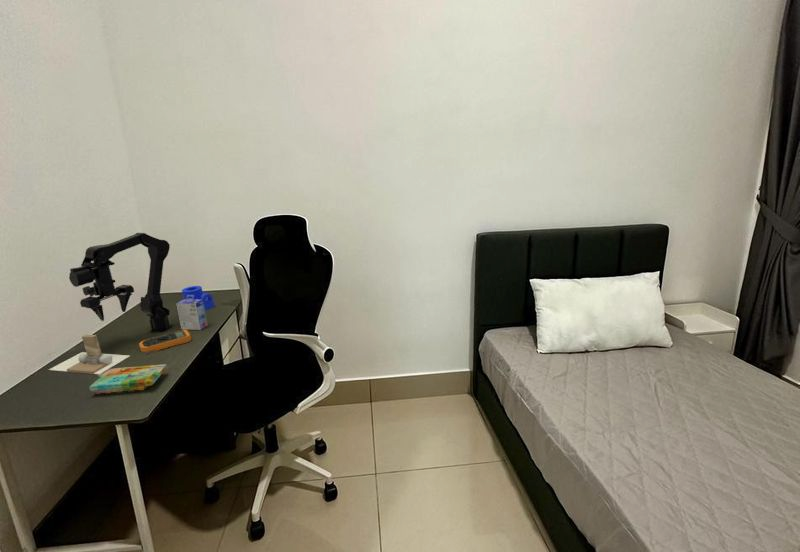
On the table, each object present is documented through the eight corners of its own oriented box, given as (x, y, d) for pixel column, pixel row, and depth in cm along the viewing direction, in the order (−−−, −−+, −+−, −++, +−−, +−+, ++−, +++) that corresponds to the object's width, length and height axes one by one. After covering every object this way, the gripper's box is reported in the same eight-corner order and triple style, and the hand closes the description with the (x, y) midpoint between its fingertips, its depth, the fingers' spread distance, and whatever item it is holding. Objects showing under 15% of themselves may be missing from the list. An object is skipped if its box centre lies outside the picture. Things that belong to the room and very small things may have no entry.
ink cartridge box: (208, 325, 204) (202, 294, 199) (201, 330, 198) (194, 298, 194) (188, 324, 206) (182, 293, 201) (180, 329, 201) (173, 298, 196)
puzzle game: (107, 367, 161) (166, 361, 162) (110, 379, 162) (169, 373, 163) (88, 384, 150) (151, 379, 151) (92, 397, 151) (154, 391, 152)
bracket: (181, 304, 233) (178, 289, 230) (199, 298, 239) (196, 284, 237) (200, 312, 220) (197, 297, 218) (218, 306, 227) (215, 291, 225)
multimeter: (139, 348, 185) (137, 341, 184) (187, 335, 195) (186, 328, 194) (143, 356, 178) (141, 348, 177) (192, 342, 188) (190, 334, 187)
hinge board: (82, 354, 183) (79, 344, 181) (130, 358, 177) (128, 347, 176) (49, 372, 170) (45, 361, 168) (100, 376, 164) (96, 365, 163)
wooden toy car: (95, 360, 175) (87, 333, 171) (106, 361, 173) (98, 334, 170) (87, 364, 171) (79, 337, 168) (98, 365, 170) (90, 338, 167)
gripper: (111, 270, 191) (120, 306, 195) (65, 285, 174) (76, 323, 179) (130, 272, 187) (139, 308, 191) (85, 287, 170) (96, 326, 175)
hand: (113, 316), depth 184 cm, fingers open, 9 cm apart
